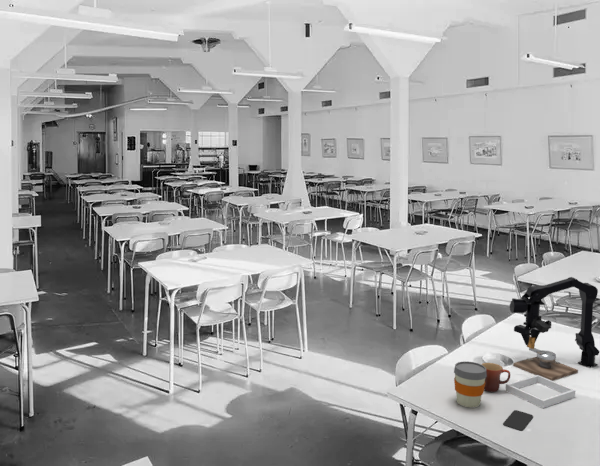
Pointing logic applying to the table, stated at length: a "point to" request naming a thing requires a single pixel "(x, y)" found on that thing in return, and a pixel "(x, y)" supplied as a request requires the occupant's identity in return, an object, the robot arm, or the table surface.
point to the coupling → (541, 352)
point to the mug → (494, 377)
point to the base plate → (545, 368)
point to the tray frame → (513, 389)
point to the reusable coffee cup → (469, 383)
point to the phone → (518, 420)
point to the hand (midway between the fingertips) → (530, 344)
